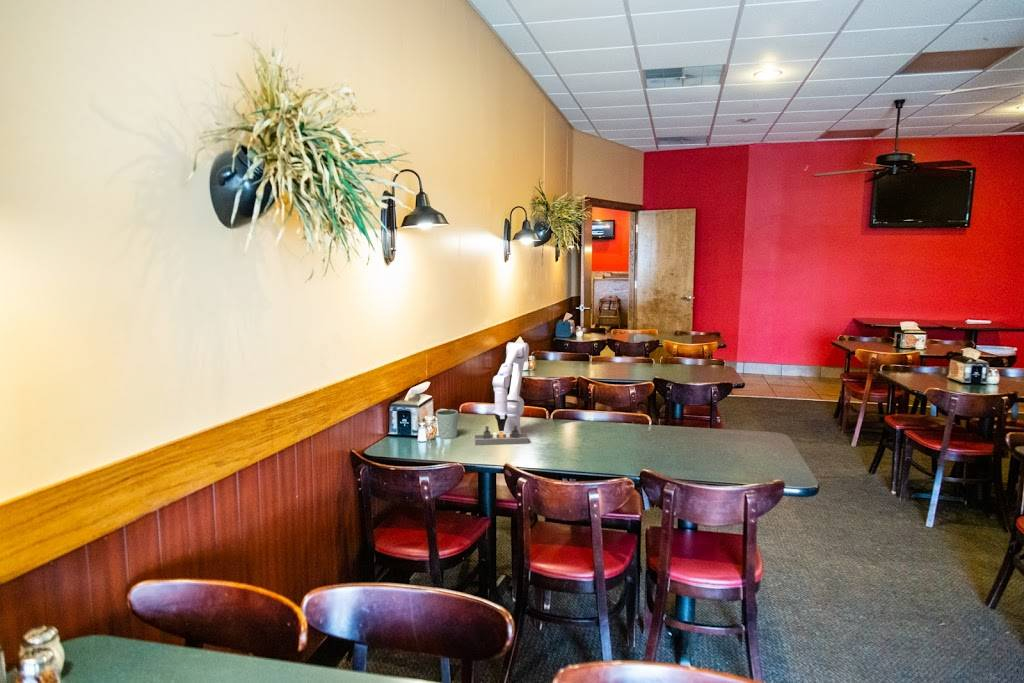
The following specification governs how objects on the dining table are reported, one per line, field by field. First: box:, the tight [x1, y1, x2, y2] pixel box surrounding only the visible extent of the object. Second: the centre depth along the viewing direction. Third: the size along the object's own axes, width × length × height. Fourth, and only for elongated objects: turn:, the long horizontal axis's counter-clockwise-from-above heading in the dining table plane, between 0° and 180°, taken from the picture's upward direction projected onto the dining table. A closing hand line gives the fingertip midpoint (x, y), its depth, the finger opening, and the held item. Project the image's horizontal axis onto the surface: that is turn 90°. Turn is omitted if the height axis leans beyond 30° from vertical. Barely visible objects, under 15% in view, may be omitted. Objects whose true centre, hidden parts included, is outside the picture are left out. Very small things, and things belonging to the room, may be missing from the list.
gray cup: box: [435, 409, 459, 440], centre depth 290 cm, size 10×10×12 cm
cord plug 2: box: [512, 425, 519, 437], centre depth 281 cm, size 3×3×5 cm
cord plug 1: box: [483, 425, 492, 438], centre depth 280 cm, size 3×3×5 cm
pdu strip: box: [474, 433, 529, 446], centre depth 281 cm, size 7×24×3 cm, turn 95°
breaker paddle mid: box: [498, 431, 504, 438], centre depth 281 cm, size 2×2×2 cm
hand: (501, 430), depth 281 cm, fingers closed
